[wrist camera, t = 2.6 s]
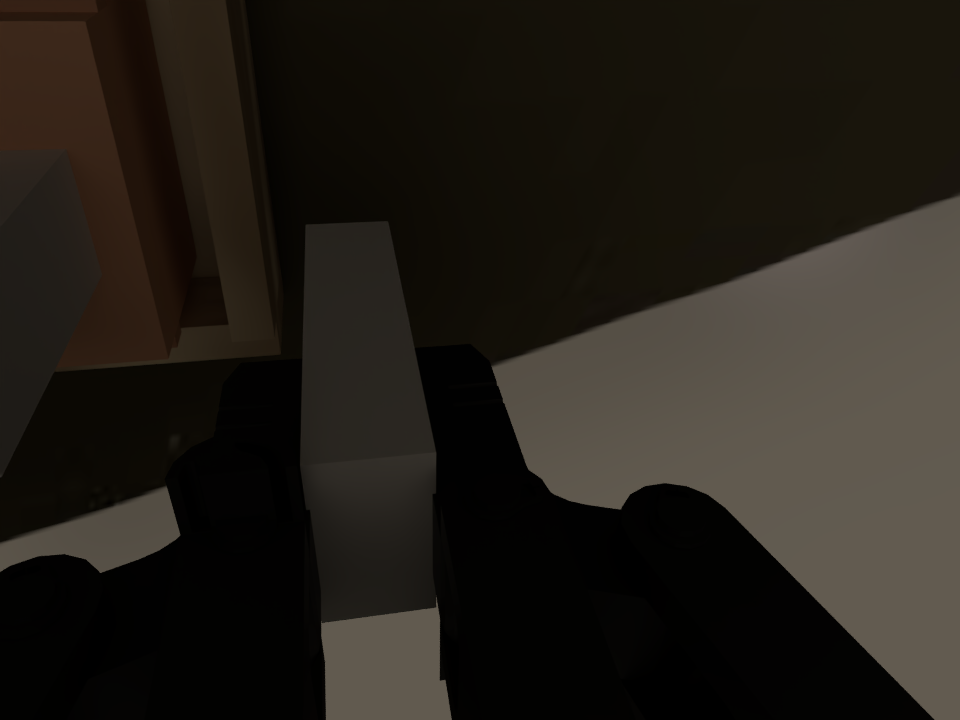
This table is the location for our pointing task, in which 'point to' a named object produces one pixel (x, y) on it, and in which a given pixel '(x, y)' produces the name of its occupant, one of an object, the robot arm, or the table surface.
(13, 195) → the brown block with post
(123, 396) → the table surface
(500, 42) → the table surface
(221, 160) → the bay
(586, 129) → the table surface
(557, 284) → the table surface
